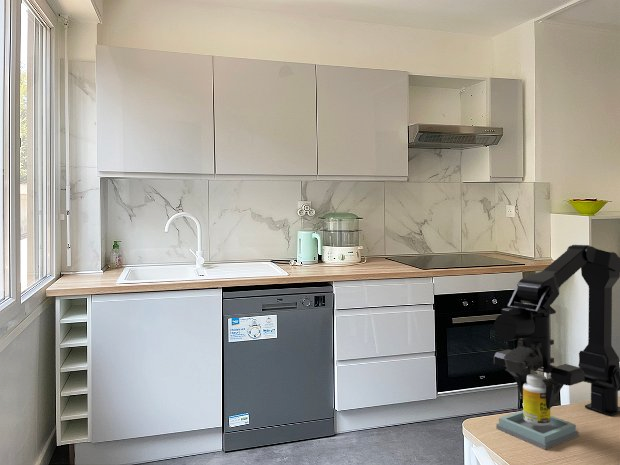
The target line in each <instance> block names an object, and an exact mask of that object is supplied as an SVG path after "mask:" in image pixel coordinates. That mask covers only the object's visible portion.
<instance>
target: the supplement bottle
mask: <svg viewBox="0 0 620 465" xmlns="http://www.w3.org/2000/svg"><path fill="white" fill-rule="evenodd" d="M544 379H547V377H546V376H545V375H542V374H538V373H530V374H529V375H527V382H526V383H524V385H523V398H522V407H523V408H522V410H523V418H524V420H525V421H526V422H528V423H530V424H533V425H537V426H545V425H548V424H549V423H550V415H551V408H550V409H548V408H547V406H546V385H545V383H544V382H543V380H544Z"/></svg>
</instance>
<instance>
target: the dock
mask: <svg viewBox="0 0 620 465" xmlns="http://www.w3.org/2000/svg"><path fill="white" fill-rule="evenodd" d="M495 426H496V427H495V428H496V429H497V430H498V431H500V432H503V433H506V434H508V435H510V436H512V437H515V438H517V439H520V440H521V441H524V442H527V443H529V444H531V445H532V446H535V447H538V448H541V449H542V450H545V451H546V450H548V449H551V448H553V447H556V446H558V445H561V444H563V443H565V442H568V441H570V440H573V439H575V438H577V437H579V431H578V430H576V427H577V426H576V423H572V422H569V421H566V420H564V419H561V418H559V417H555V416H553V415H552V414H550V423H549V424H548V425H545V426H537V425H533V424H530V423H528V422H526V421H525V420H524V418H523V409H522V410H520V411H516V412H514V413H510V414H508V415H504V416H501V417H499V418H498V423H497V424H496V425H495Z"/></svg>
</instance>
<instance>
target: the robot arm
mask: <svg viewBox="0 0 620 465" xmlns="http://www.w3.org/2000/svg"><path fill="white" fill-rule="evenodd" d="M579 270H580V272H581V277H582V278H583V280H584V281H585V283H586V285H587V286H588V320H587V321H588V322H587V323H588V325H587V326H588V329H587V330H588V331H587V333H588V337H587V338H588V339H587V345H586V346H585V348H584V349H583V350H580V351H579V353H578V356H579V357H578V361H579V362H578V366H576V365H573V364H572V365H571V364H568V363H565V364H559V365H552V364H554V363H555V357H551V346H552V345H555V339H552V338H551V315H554V314H556V312H557V311H556V309H554V308H553V307H552V306H551V305H553V303H554V302H555V301H556V299H557V298H558V297H559V296H560V288H561V286H562V285H563V284H565V283H566V282H567V281H568V280H569V279H570V278H571V277H572V276H574V275H575V274H576V273H577V272H579ZM619 279H620V256H618V254H617V253H616V252H613V251H606V250H602V249H599V248H596V247H594V246H591V245H589V244H572V245H569V246H568V247H567V248H566V251H564V252H563V253H562V254H561V255H560V256H558V257H557V258H556V259H555V260H554V261H553V262H551V263H550V264H549V265H548V266H547V267H545V268H544V269H543V270H542V271H539V272H535V273H531V274H528V275H527V276H524V277H523V278H521V279H520V280H519V281H518V282H517V284H516V286H515V289H514V291H513V292H512V296H511V298H510V299H509V302H508V303H507V306H506V307H507V308H501V313H500V314H499V315H498V316H496V318H495V321H494V322H493V327H494V328H493V329H494V332H495V334H496V335H497V337H498V338H499V339H500V340H501V341H503V342H504V341H505V342H510V341H516V340H518V341H517V346H516V348H513V349H504V350H500V351H496V352H495V353H494V356H493V365H495V366H496V365H497V366H500V367H502V368H504V370H505V372H506V371H507V372H508V373H509V374H510V375H511V376H513V378H514V381H515V382H516V385H517V388H518V390H519V392H520V395H521V398H522V399H523V385H524V383H526V382H527V375H529V374H531V371H533V372H542V373H545V374H547V375H548V378H546V379H544V380H543V382H544V383H545V385H546V406H547V408H548V409H550V410H551V409H552V407H553V405H554V403H555V401H556V399H557V397H558V395H559V394H560V391H561V389H562V388H563V386H568V387H570V386H573V385H577V384H580V383H582V382H583V383H587V384H590V403H587V404H585V405H584V408H586V409H589V410H592V411H595V412H596V413H597V412H598V413H600V414H604V415H607V416H611V417H612V416H615V415H617V414H620V406H619V392H620V357H619V356H618V354H617V353H616V351H615V349H614V347H613V345H612V331H613V330H612V325H613V324H612V322H613V320H612V319H613V318H612V316H613V315H612V314H613V313H612V311H613V287H614V285H616V283H617V282H618V280H619Z"/></svg>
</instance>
